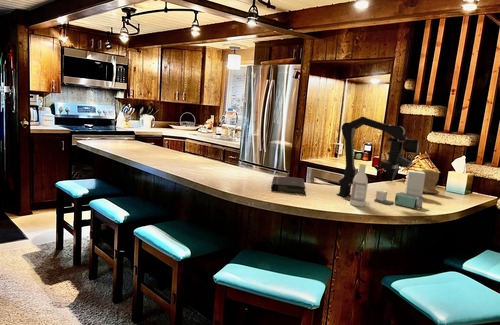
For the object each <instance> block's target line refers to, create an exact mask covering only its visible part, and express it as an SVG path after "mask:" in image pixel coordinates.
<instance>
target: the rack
mask: <svg viewBox="0 0 500 325" xmlns="http://www.w3.org/2000/svg"><path fill="white" fill-rule="evenodd" d="M396 194H399V195H404V196H408V197H413V198H416V204H415V208H414V209H415V210H419V209H421V208H422V207H423V200H424V196H422V197H421V196H417V195H412V194H408V193H405V192H396V193H395V195H396ZM409 208H410V209H411V207H409Z"/></svg>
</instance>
